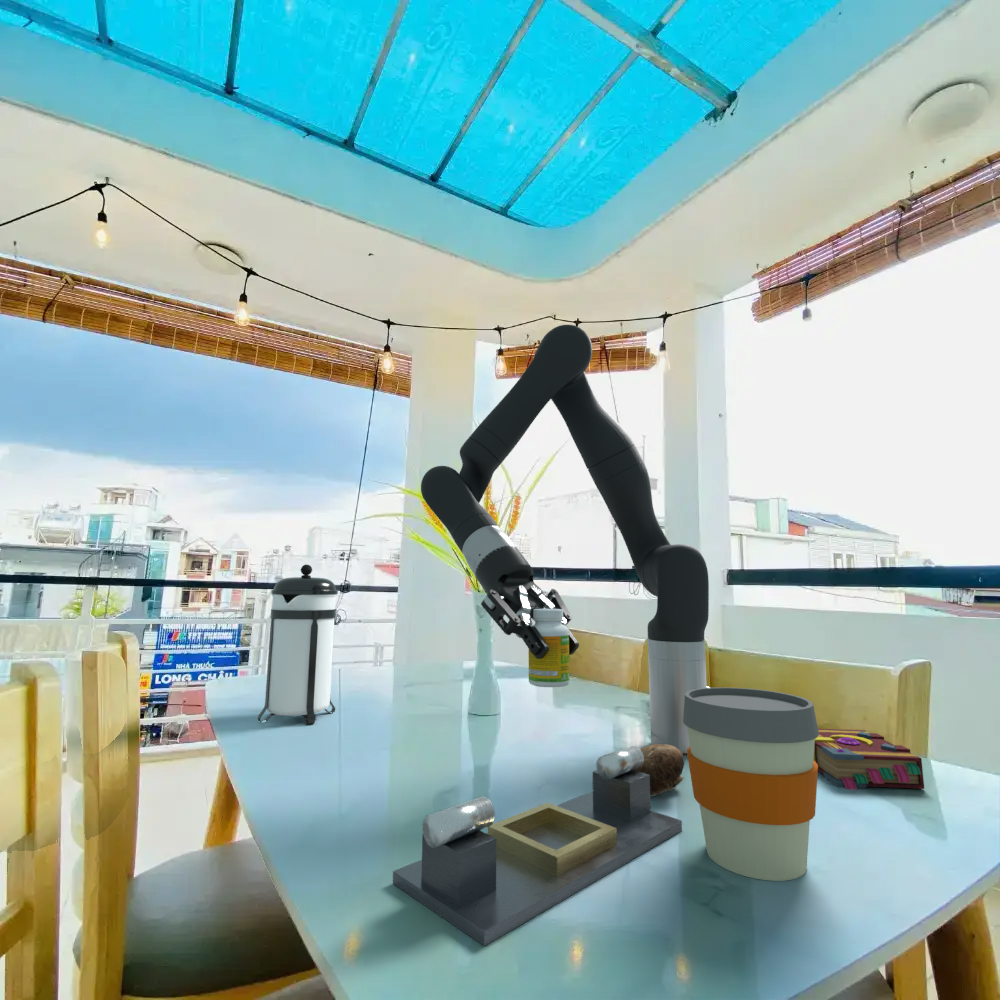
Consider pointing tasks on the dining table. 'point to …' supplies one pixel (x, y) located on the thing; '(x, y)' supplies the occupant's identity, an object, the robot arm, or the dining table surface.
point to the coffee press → (300, 647)
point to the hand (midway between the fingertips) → (559, 652)
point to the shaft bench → (533, 850)
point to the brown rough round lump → (662, 767)
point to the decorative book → (865, 760)
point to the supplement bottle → (550, 650)
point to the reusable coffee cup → (753, 777)
